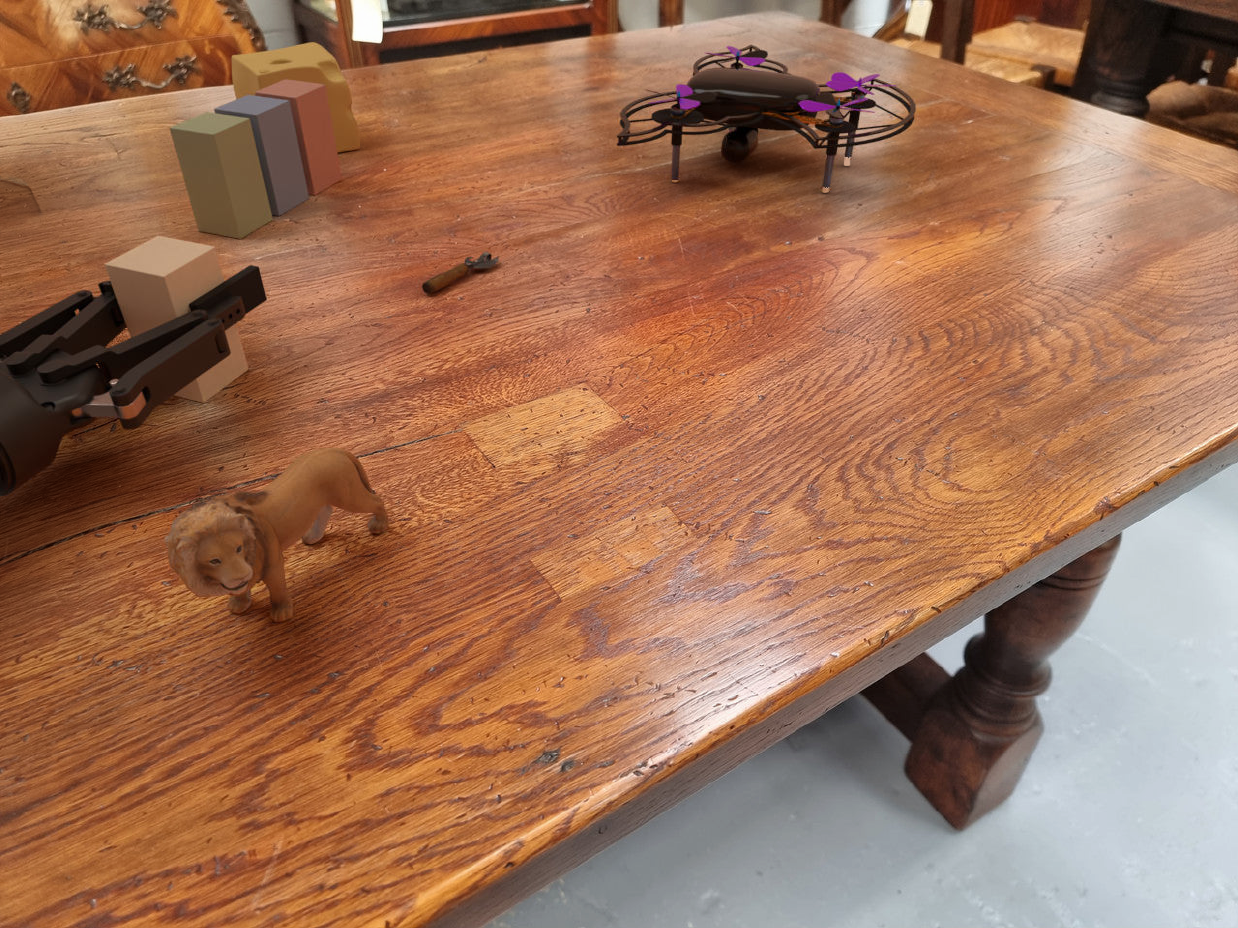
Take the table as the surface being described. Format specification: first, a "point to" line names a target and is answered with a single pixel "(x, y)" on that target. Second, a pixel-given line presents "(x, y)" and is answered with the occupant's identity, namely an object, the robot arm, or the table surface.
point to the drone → (764, 108)
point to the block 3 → (274, 148)
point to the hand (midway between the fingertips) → (226, 276)
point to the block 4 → (310, 130)
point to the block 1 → (222, 174)
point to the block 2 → (173, 299)
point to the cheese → (306, 67)
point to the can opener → (458, 272)
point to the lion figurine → (267, 528)
